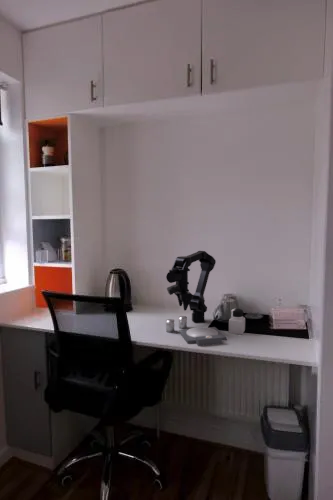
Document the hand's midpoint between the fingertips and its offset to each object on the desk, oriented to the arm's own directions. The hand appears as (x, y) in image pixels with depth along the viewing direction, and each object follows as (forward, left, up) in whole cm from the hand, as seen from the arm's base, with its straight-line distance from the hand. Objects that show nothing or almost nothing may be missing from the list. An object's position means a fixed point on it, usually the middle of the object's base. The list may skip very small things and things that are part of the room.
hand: (182, 308), depth 178 cm
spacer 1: (+8, +4, -11) cm, 14 cm away
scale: (-6, +17, -11) cm, 21 cm away
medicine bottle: (-26, +13, -11) cm, 31 cm away
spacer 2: (0, 0, -11) cm, 11 cm away
